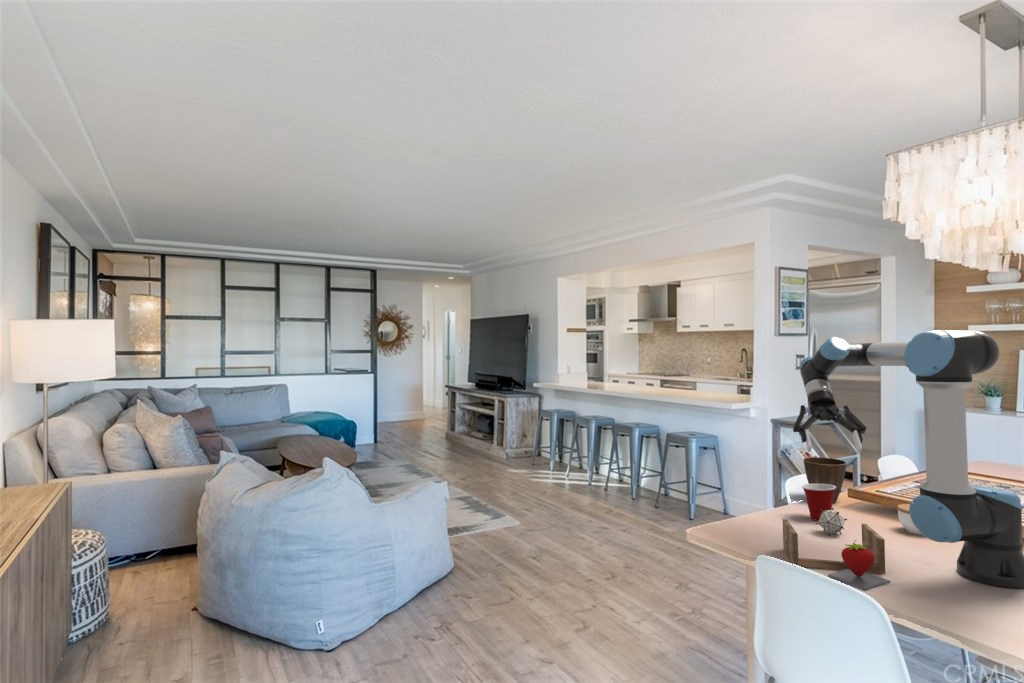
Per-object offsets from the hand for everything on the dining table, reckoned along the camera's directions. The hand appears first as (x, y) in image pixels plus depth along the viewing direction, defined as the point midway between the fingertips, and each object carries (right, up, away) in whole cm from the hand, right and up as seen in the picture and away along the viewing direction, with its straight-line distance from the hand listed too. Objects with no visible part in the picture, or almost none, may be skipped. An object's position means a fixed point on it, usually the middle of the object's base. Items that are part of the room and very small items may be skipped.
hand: (834, 450), depth 169 cm
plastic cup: (+11, -30, +29) cm, 43 cm away
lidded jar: (+35, -30, +14) cm, 48 cm away
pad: (-7, -29, -23) cm, 38 cm away
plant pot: (+26, -31, +52) cm, 66 cm away
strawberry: (-7, -29, -23) cm, 38 cm away
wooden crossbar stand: (-7, -30, -10) cm, 32 cm away
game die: (+7, -30, +13) cm, 34 cm away
